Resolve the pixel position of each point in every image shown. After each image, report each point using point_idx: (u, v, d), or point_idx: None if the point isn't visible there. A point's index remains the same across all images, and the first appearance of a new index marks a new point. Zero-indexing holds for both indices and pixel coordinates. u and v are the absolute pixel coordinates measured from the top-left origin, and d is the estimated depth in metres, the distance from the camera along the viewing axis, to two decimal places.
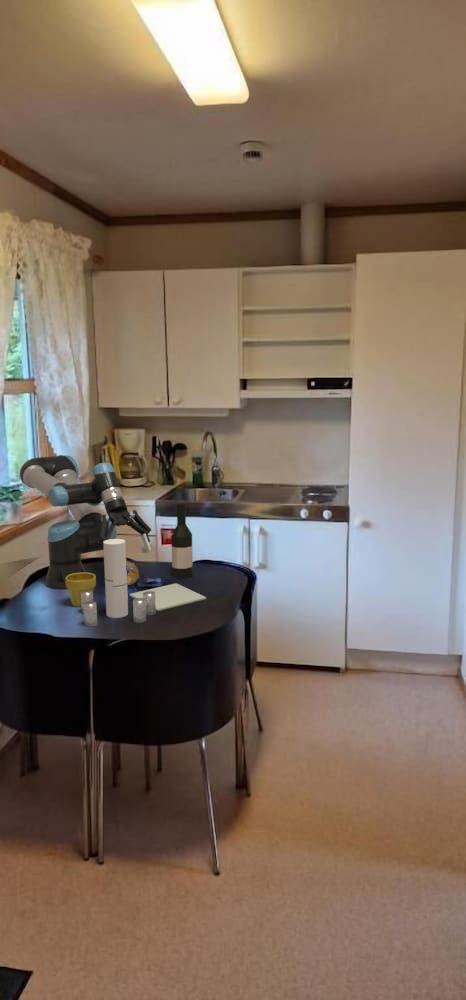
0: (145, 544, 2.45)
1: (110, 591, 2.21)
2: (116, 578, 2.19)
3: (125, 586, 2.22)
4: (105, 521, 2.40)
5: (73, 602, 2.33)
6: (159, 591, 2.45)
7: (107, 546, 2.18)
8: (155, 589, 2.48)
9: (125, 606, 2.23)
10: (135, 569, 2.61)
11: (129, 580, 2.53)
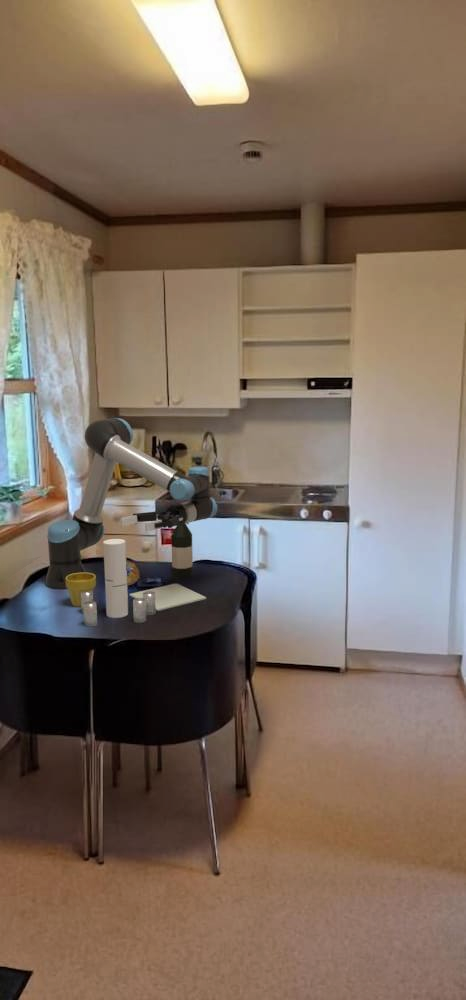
0: (128, 521, 2.33)
1: (110, 591, 2.21)
2: (116, 578, 2.19)
3: (125, 586, 2.22)
4: None
5: (73, 602, 2.33)
6: (159, 591, 2.45)
7: (107, 546, 2.18)
8: (155, 589, 2.48)
9: (125, 606, 2.23)
10: (135, 569, 2.61)
11: (129, 580, 2.53)
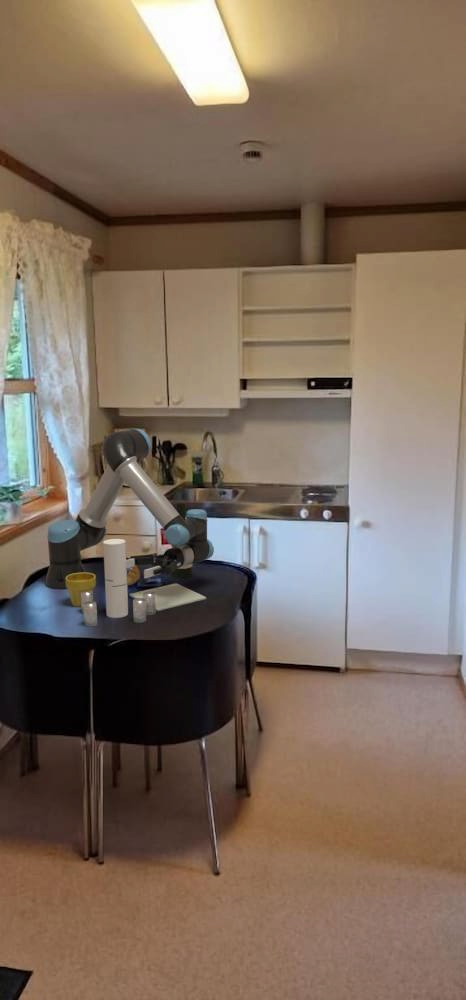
0: (126, 564, 2.33)
1: (110, 591, 2.21)
2: (116, 578, 2.19)
3: (125, 586, 2.22)
4: None
5: (73, 602, 2.33)
6: (159, 591, 2.45)
7: (107, 546, 2.18)
8: (155, 589, 2.48)
9: (125, 606, 2.23)
10: (136, 569, 2.61)
11: (129, 580, 2.53)
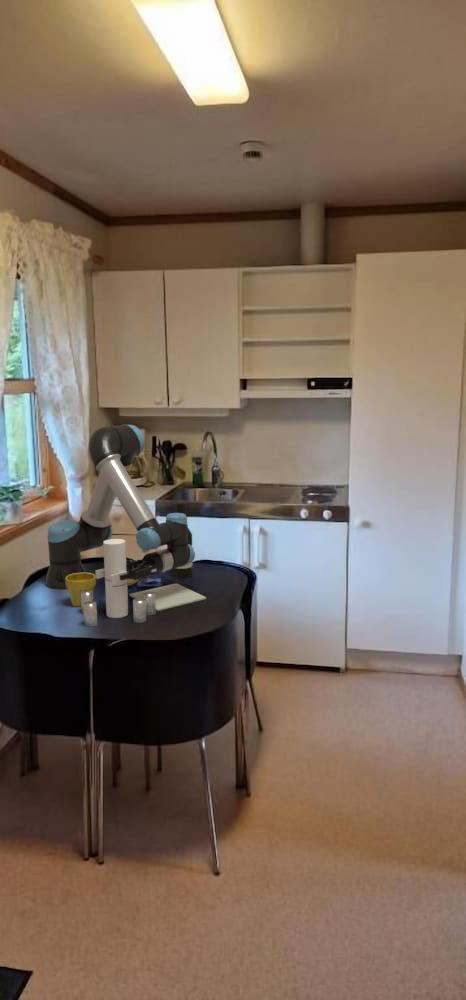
0: (104, 573, 2.24)
1: (110, 591, 2.21)
2: None
3: (125, 586, 2.22)
4: None
5: (73, 602, 2.33)
6: (159, 591, 2.45)
7: (107, 546, 2.18)
8: (155, 589, 2.48)
9: (125, 606, 2.23)
10: None
11: (130, 580, 2.53)
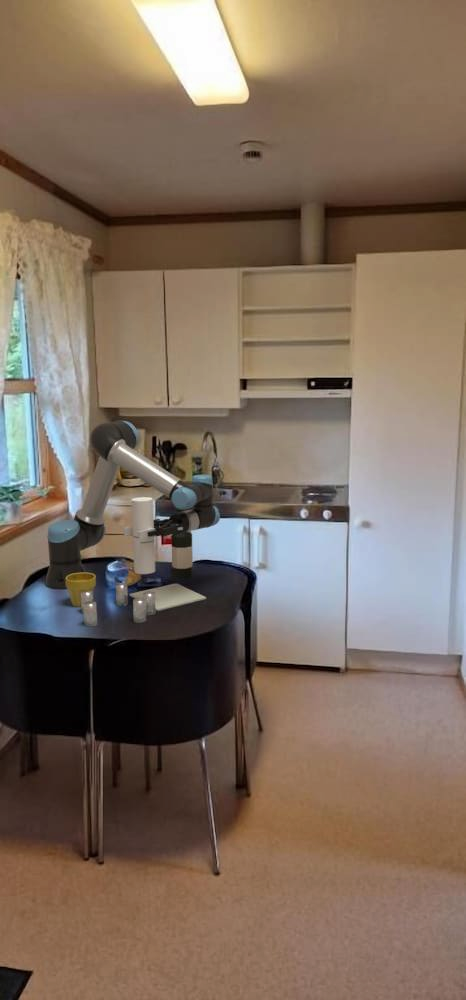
0: (131, 530, 2.28)
1: (138, 547, 2.25)
2: None
3: (152, 543, 2.27)
4: None
5: (73, 602, 2.33)
6: (159, 591, 2.45)
7: (135, 503, 2.22)
8: (155, 589, 2.48)
9: (152, 563, 2.28)
10: None
11: (130, 580, 2.53)
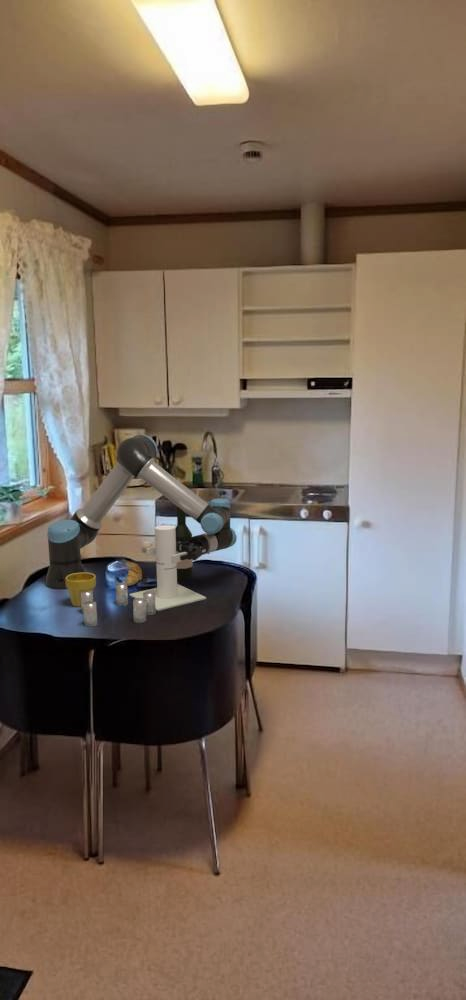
0: (153, 551, 2.42)
1: (161, 573, 2.37)
2: (168, 561, 2.36)
3: (175, 569, 2.38)
4: None
5: (73, 602, 2.33)
6: None
7: (159, 532, 2.34)
8: (155, 589, 2.48)
9: (175, 588, 2.39)
10: (138, 569, 2.61)
11: (130, 580, 2.53)
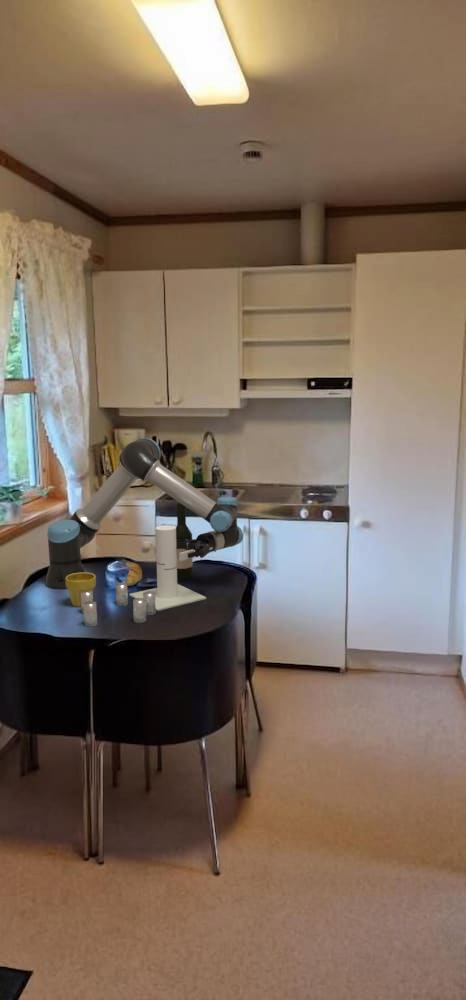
0: None
1: (161, 573, 2.36)
2: (168, 562, 2.35)
3: (175, 569, 2.38)
4: None
5: (73, 602, 2.33)
6: None
7: (160, 532, 2.34)
8: (155, 589, 2.48)
9: (175, 588, 2.39)
10: (138, 570, 2.61)
11: (130, 580, 2.53)
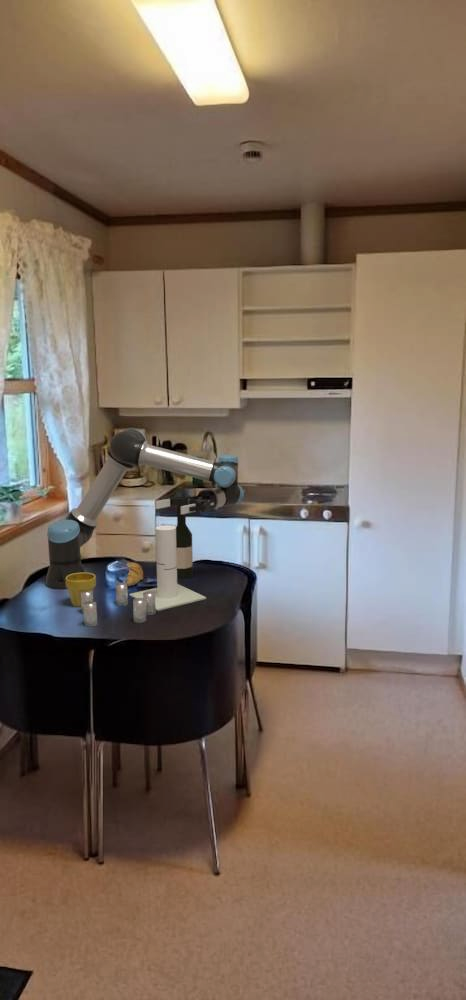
0: (162, 504, 2.45)
1: (161, 573, 2.36)
2: (168, 562, 2.35)
3: (175, 569, 2.38)
4: None
5: (73, 602, 2.33)
6: None
7: (160, 532, 2.34)
8: (155, 589, 2.48)
9: (175, 588, 2.39)
10: (139, 570, 2.60)
11: (130, 581, 2.53)
